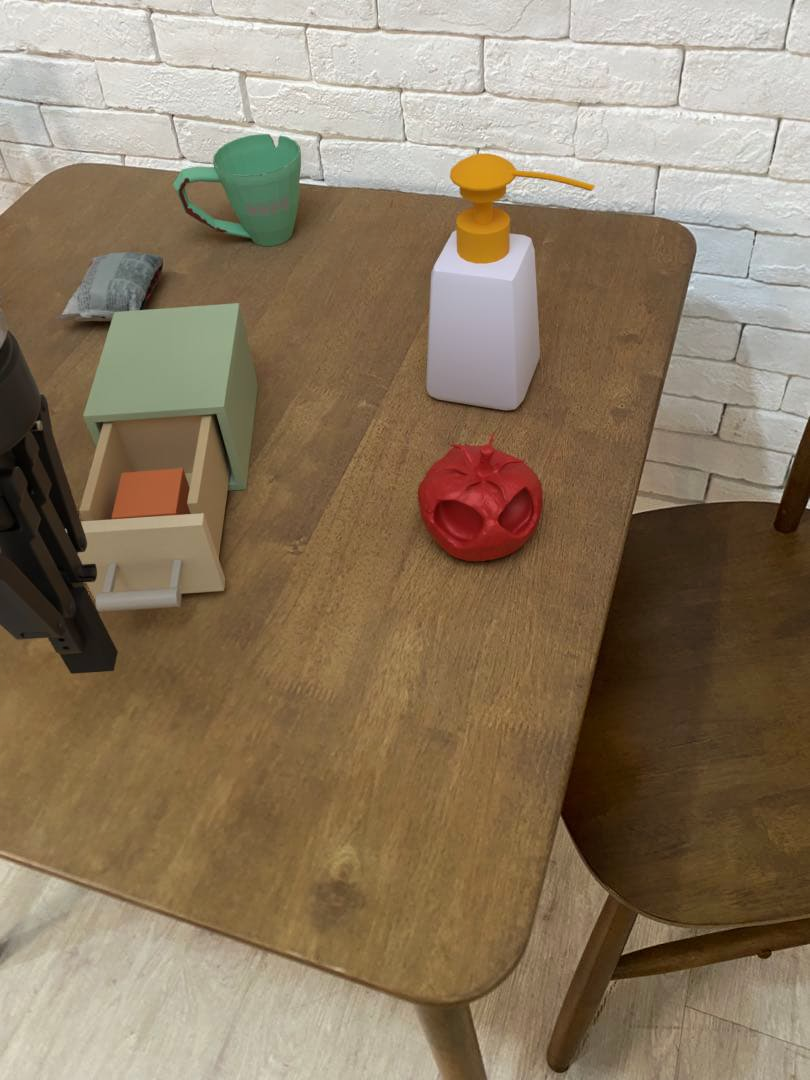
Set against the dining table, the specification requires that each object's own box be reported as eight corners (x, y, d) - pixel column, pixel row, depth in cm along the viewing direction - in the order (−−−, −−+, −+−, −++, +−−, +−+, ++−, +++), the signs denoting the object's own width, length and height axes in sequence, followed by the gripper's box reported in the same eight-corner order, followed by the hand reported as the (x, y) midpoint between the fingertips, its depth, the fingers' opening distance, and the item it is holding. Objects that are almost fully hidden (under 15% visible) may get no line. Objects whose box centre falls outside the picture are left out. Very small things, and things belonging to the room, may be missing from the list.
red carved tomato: (416, 493, 81) (409, 411, 74) (530, 482, 81) (534, 399, 74) (426, 581, 75) (420, 500, 68) (550, 569, 75) (557, 487, 68)
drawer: (218, 634, 71) (195, 568, 66) (84, 642, 72) (48, 578, 66) (238, 472, 83) (220, 404, 77) (123, 480, 84) (96, 413, 78)
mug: (305, 208, 115) (292, 127, 108) (319, 248, 109) (307, 166, 101) (187, 229, 114) (166, 149, 106) (194, 272, 107) (172, 190, 100)
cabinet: (246, 489, 83) (223, 406, 76) (116, 498, 83) (82, 416, 76) (258, 385, 93) (239, 302, 86) (142, 393, 93) (113, 311, 86)
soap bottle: (565, 426, 86) (584, 199, 69) (421, 402, 89) (407, 181, 73) (586, 363, 92) (608, 140, 75) (450, 343, 95) (443, 126, 79)
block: (129, 559, 76) (111, 517, 72) (138, 515, 79) (121, 472, 75) (191, 555, 76) (175, 512, 72) (197, 510, 79) (183, 467, 75)
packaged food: (65, 337, 100) (49, 297, 97) (98, 275, 108) (85, 236, 104) (143, 338, 99) (131, 298, 96) (172, 276, 107) (161, 236, 104)
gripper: (-30, 451, 37) (136, 750, 55) (44, 271, 46) (167, 579, 63) (-215, 464, 37) (9, 758, 55) (-106, 283, 46) (58, 586, 64)
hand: (94, 662), depth 59 cm, fingers closed
